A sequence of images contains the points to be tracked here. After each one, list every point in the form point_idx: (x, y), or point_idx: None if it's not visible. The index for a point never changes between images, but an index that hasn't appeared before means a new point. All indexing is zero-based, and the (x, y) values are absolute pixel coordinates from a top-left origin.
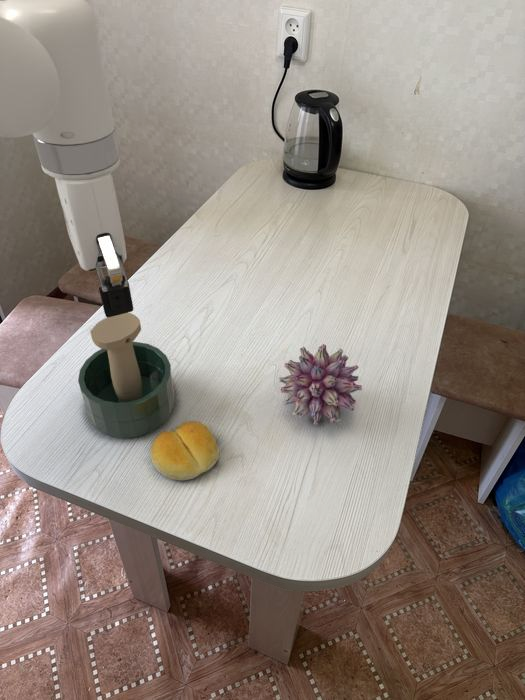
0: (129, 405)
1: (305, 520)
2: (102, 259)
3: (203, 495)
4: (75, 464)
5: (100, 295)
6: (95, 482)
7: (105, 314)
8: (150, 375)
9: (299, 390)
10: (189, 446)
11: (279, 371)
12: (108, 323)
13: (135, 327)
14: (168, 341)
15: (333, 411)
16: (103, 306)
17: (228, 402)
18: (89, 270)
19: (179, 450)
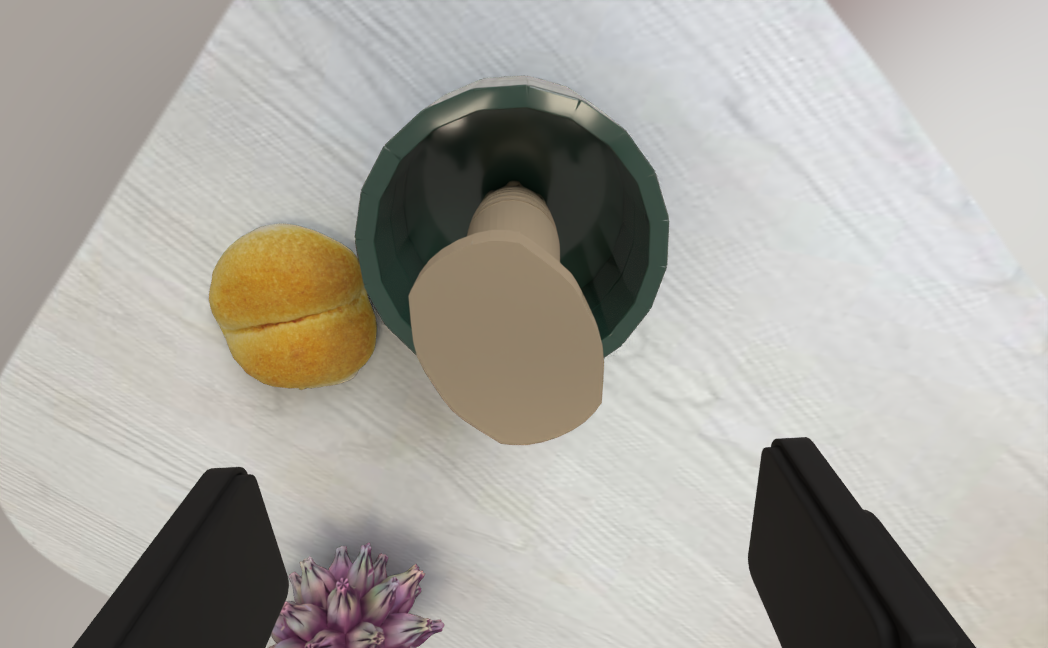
0: (355, 238)
1: (102, 467)
2: (778, 581)
3: (183, 308)
4: (336, 6)
5: (133, 601)
6: (262, 57)
7: (201, 479)
8: (590, 285)
9: (313, 621)
10: (262, 334)
11: (499, 549)
12: (548, 327)
13: (479, 423)
14: (718, 355)
15: (272, 635)
16: (163, 529)
17: (441, 429)
18: (775, 441)
19: (250, 309)
